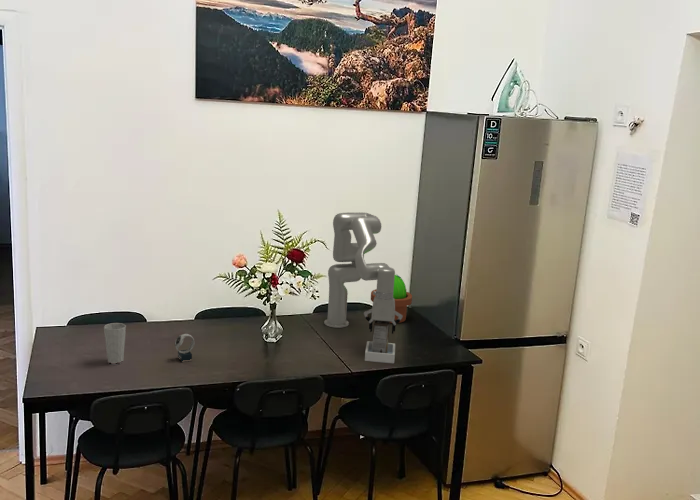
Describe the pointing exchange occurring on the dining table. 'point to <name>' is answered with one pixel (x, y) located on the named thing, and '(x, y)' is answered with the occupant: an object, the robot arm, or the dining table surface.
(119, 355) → the cup
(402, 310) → the potted cactus
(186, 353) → the watch
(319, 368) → the dining table surface
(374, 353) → the shallow grey tray
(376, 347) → the coffee box
